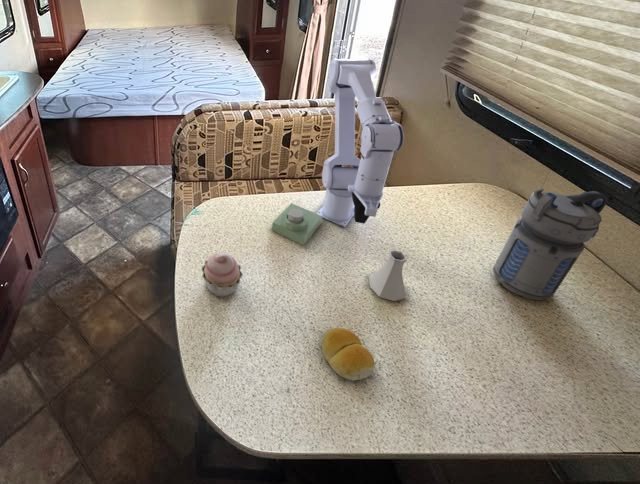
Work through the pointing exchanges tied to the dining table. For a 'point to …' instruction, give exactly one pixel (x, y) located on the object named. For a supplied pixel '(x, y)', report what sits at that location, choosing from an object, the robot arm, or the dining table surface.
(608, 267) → the dining table surface
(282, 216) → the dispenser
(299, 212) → the grey short cylinder
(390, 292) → the flask
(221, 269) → the cupcake
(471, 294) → the dining table surface
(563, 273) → the beverage bottle
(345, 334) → the bread roll
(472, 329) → the dining table surface
